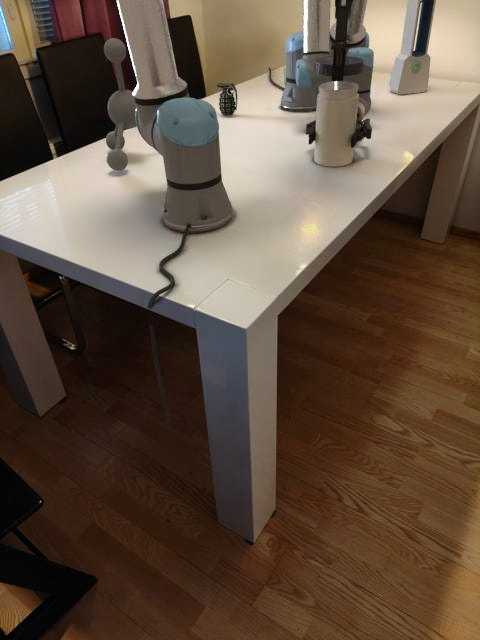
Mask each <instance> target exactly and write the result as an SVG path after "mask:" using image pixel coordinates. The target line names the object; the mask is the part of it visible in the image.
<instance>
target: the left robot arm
mask: <svg viewBox="0 0 480 640" xmlns="http://www.w3.org/2000/svg"><path fill="white" fill-rule="evenodd" d="M116 3H117V7H118V10H119V15H120V19H121V22H122V26H123V31H124V35H125V39H126V43H127V47H128V51H129V55H130V59H131V63H132V67H133V71H134V75H135V78H136V82H137V84H136V87H135V88H134V90H133V97H134V101H135V105H136V112H135V121H136V128H137V131H138V133H139V135H140V137H141V138H142V139H143V141H144V142H145V143H146V144H148V146H149V147H151V148H152V149H154V150H155V151H156V152H157V153H158V154H159V155H161V157H162V159H163V168H164V173H165V180H166V190H165V191H166V192H165V196H164V203H163V207H162V218H163V222H164V224H165V226H167V227H168V228H169V229H171V230H173V231H177V232H180V233H183V234H182V237H181V241H180V244H179V246H178V247H177V249H176V250H175V251H173V252H172V253H170V254H168V255H166V256H164V257H163V258H161V260H160V261H159V265H158V267H159V271H160V272H161V273H162V274H164V275H165V276H166V277H168V279H169V280H170V283H169V284H168V285H167V286H165V287H163V288H160V289H158V290H157V291H155V292H154V293H153V294H152V296H151V297H150V298H149V301H148V305H147V309H148V310H151V309H152V308H153V305H154V303H155V300H156V299H157V298H158V297H159V296H160V295H162V294H163V293H165V292H168V291H169V290H171V289H173V287H174V286H175V283H176V280H175V277H174V275H172V274H171V273H170V272H169V271H167V270H166V269H165V267H164V264H165V263H166V262H167V261H169V260H171V259H173V258H174V257H176V256H177V255H179V253H181V251H182V250H183V248H184V247H185V243H186V239H187V236H188V233H190V234H191V233H192V234H193V233H194V234H195V233H196V234H197V233H205V232H206V233H207V232H210V231H215V230H216V229H220V228H222V227H224V226H226V225H227V224H228V223H230V221H231V220H232V218H233V216H234V212H233V211H234V210H233V205H232V201H231V200H230V197H229V195H228V192H227V190H226V187H225V184H224V182H223V175H222V174H223V173H222V161H221V159H222V158H221V145H220V123H219V120H218V114H217V111H216V109H215V107H214V105H212V104H211V103H210V102H209V101H207V100H204V99H201V98H199V99H196V98H195V97H190V94H189V88H188V83H187V82H186V81H185V80H183V79H182V78H181V77H180V76H179V75H178V70H177V69H178V68H177V65H176V60H175V54H174V51H173V44H172V39H171V34H170V30H169V24H168V19H167V15H166V10H165V3H164V0H116ZM352 5H353V0H334V7H335V9H334V10H335V11H334V18H335V19H334V20H335V23H336V33H335V43H334V45H331V50H334V53H333V66H332V80H331V81H343V77H344V66H345V55H346V44H347V41H346V40H349V37H350V35H347V24H348V19H349V18H350V15H351V7H352ZM336 19H337V21H336ZM148 327H149V333H150V341H151V349H152V354H153V355H152V357H153V363H154V368H155V373H156V379H157V384H158V386H159V388H158V389H159V392H160V393H159V394H160V396H161V401H162V406H163V410H164V411H163V412H164V416H165V420H166V423H167V424H168V425H169V424H170V423H171V417H170V411H169V407H168V402H167V398H166V397H167V396H166V393H165V389H164V384H163V378H162V375H161V368H160V363H159V355H158V350H157V340H156V333H155V332H156V331H155V325H152V324H148Z"/></svg>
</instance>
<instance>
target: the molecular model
mask: <svg viewBox="0 0 480 640" xmlns="http://www.w3.org/2000/svg"><path fill="white" fill-rule="evenodd" d="M103 53H104V55H105V57H106V59H107V60H108V61H109V62H111V63H114V68H115V72H116V77H117V78H116V79H117V83H118V89H119V90H117V91H115V92H114V93H112V94H111V96H110V97H109V99H108V102H107V113H108V117H109V118H110V120H111V121H112V123H113V124H115V128H114V130H113V131H110V132H108V133H107V135H106V137H105V144H106V146H107V147H108V148H109V150H110V151H109V152H108V153H107V156H106V162H107V165H108V167H109V168H110V169H111V170H113V171H116V172H119V171H120V172H121V171H123V170H125V169H126V168H127V166H128V164H129V158H128V155H127V153H126V152H125V151H124V150H122V149H123V148H125V144H126V140H125V139H126V138H125V137H124V130H130V129H131V130H132V129H134V128H137V126H136V121H135V112H136V105H135V101H134V97H133V92H134V90H130V89H126V86H125V80H124V73H123V69H122V62H123V61H124V60H125V58H126V57H127V47H126V45H125V43H124V42H123V41H122V40H121V39H119V38H116V37H112V38H111V37H110V38H109V39H107V40H106V41H105V43H104V45H103Z"/></svg>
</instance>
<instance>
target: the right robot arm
mask: <svg viewBox="0 0 480 640" xmlns="http://www.w3.org/2000/svg"><path fill="white" fill-rule="evenodd" d="M331 1H332V0H302V30H301V31H297V32H295V33H292V34H290V35H289V36H288V37H287V40H286V47H285V48H286V49H285V54H286V59H285V68H286V81H285V85H284V87H283V86H281V85H279V84H278V83H276V82H275V81H274V80H273V79H272V69H271V67H270V66H268V78H269V81H270V82H271V84H273V85H274V86H275V87H277V88H279V89H281V90H283V93H282V95H281V99H280V108H281V109H282V110H284V111H288V112H294V113H295V112H296V113H304V112H305V113H306V112H307V113H308V112H314V111H316V106H317V95H318V94H319V86H320V85H321V84H323V83H326V82H334V81H331V80H332V76H324V75H320V74H317V73H315V61H316V60H317V59H319V58H323V57H330V56H333V53H334V50H331V45H334V43H335V33H336V21H337V19H335V22H334V23H333V24H331ZM367 4H368V0H353V5H352V7H351V15H350V18H349V19H348V24H347V35H350V37H349V40H346V41H347V44H346V55H345V56H351V57H358V58H361V59H363V71H362V72H361V73H360V74H357V75H352V76H344V77H343V81H345V82H352V83H356V84H357V85H358V90H357V93H358V94H359V99H358V109H357V120H356V130H355V132H354V134H353V136H352V139H351V148H354V149H355V147H356V145H357V143H358V142H362V141H363V140H364V138H366V140H371V139H372V134H373V127H372V125H371V119H370V118H365V117H366V116H367V115H368V114H369V111H370V110H371V107H372V98H371V88H372V87H371V86H372V78H373V72H374V63H375V62H374V61H375V57H374V56H375V52H374V50H373V49H371V48H370V34H369V33H368V32H367V29H366V26H364V21H365V15H366V11H367V10H366V9H367ZM315 128H316V119H315V120H313V121H310V122H308V123H306V124H305V134H306V135H307V136H308V145H312V144H314V143H315Z"/></svg>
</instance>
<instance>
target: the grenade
mask: <svg viewBox="0 0 480 640" xmlns="http://www.w3.org/2000/svg"><path fill="white" fill-rule="evenodd" d="M215 87H217V88H219V89H221V93H219V97H218V101H219V102H218V106H219V108H218V109H219V112H220V114H221V115H222V116H224V117H231V116H233V115H234V113H235V112H236V111H237V108H238V89H237V87H236V85H235V84H234V83H233V82H218V83H217V84H216V86H215ZM232 91H233V92H232ZM234 94H235V96H234Z"/></svg>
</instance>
